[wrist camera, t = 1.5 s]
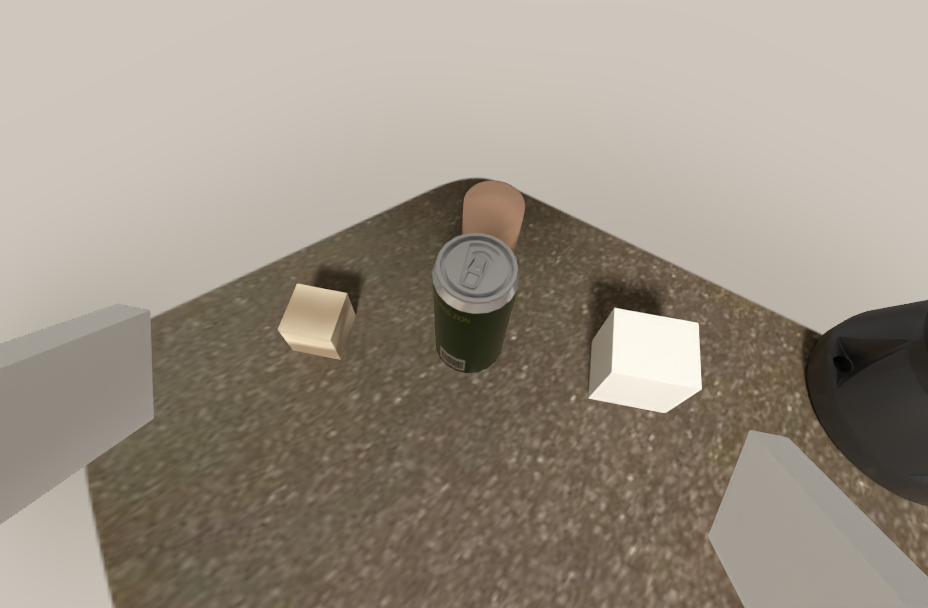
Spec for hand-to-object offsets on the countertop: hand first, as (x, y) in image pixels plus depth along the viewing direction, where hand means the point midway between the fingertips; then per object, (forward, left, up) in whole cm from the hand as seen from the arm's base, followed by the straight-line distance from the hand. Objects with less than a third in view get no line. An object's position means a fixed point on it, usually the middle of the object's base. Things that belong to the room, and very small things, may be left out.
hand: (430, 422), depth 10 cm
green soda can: (+11, -7, -26) cm, 29 cm away
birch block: (+16, +4, -25) cm, 30 cm away
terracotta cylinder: (+19, -12, -25) cm, 34 cm away
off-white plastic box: (+4, -18, -25) cm, 31 cm away
